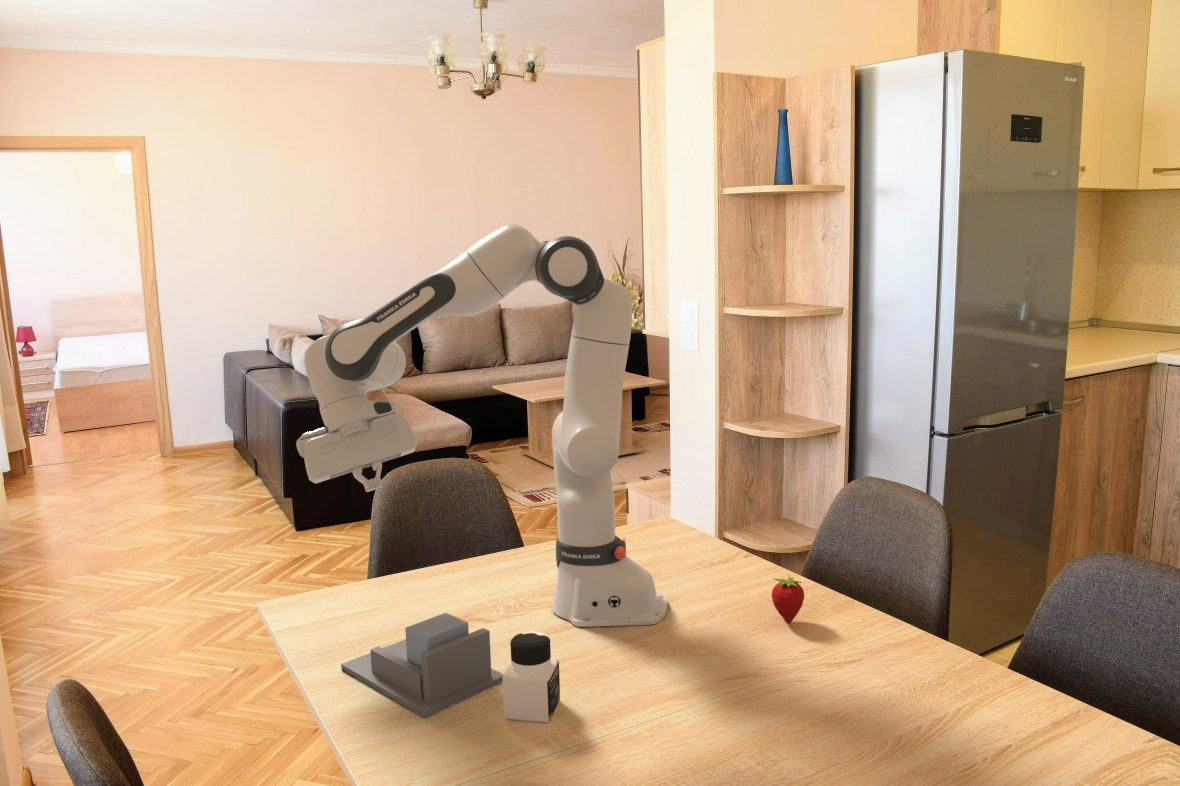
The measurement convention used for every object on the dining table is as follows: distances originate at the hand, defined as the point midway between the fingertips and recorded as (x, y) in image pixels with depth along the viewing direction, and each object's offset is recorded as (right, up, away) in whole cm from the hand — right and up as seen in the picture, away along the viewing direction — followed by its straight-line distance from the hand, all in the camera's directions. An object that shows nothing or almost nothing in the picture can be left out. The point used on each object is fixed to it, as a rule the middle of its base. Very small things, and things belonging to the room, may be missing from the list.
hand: (374, 489), depth 166 cm
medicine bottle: (+30, -31, -25) cm, 51 cm away
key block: (+14, -29, -17) cm, 36 cm away
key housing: (+11, -30, -13) cm, 34 cm away
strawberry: (+76, -25, +4) cm, 80 cm away
